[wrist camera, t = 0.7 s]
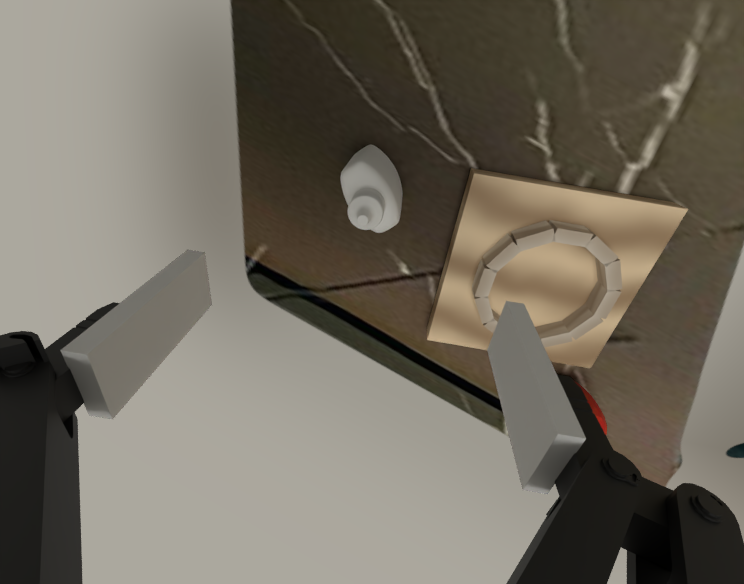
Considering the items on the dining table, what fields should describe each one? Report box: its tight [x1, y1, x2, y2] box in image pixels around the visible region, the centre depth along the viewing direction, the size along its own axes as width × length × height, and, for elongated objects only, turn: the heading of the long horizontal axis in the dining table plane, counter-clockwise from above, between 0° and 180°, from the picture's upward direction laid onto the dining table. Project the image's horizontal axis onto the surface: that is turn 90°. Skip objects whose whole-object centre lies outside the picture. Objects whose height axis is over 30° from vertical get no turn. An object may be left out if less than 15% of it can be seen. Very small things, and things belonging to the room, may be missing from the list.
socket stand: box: [427, 168, 688, 368], centre depth 35 cm, size 18×18×4 cm
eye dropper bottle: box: [340, 144, 403, 233], centre depth 28 cm, size 4×6×12 cm
